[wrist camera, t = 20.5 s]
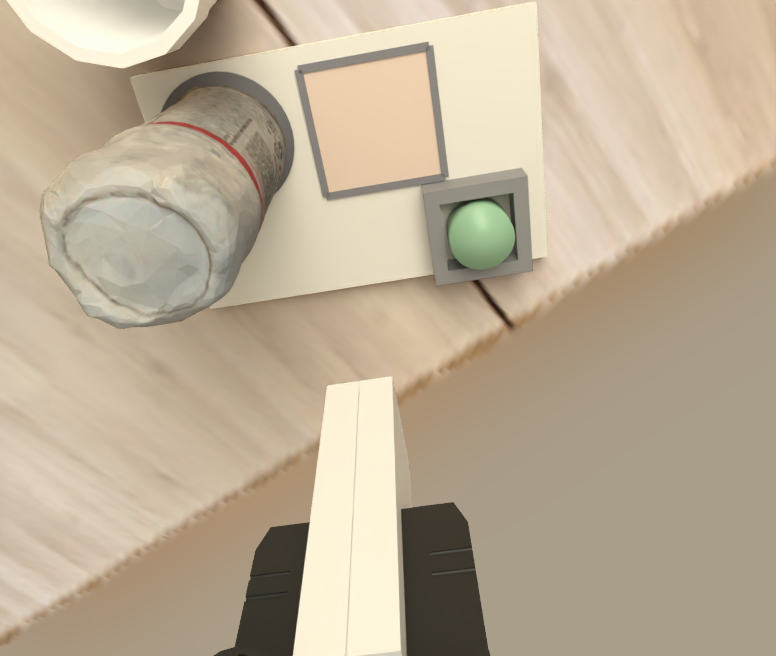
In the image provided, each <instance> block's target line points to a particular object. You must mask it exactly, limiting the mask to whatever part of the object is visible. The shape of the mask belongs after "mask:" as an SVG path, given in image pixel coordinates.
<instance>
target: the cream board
mask: <svg viewBox="0 0 776 656" xmlns="http://www.w3.org/2000/svg"><path fill="white" fill-rule="evenodd" d="M215 71H219V72H230V73H235V74H239V75H242V76H245V77H247V78H249V79H251V80H253V81H255V82H256V83H258V84H260V85H261V86H262V87H264V88H265V89H266V90H267V91H269V92H270V93H271V94H272V95H273V96H274V97H275V98H276V100H277V101H278V102H279V104H280V105H281V106H282V108H283V110H284V111H285V113H286V115H287V117H288V120H289V122H290V125H291V128H292V131H293V137H294V149H295V150H294V159H293V164H292V167H291V170H290V173H289V175H288V177H287V179H286V181H285V182H284V184H283V185H282V187H281V188H280V189H279V190H278V191H277V192H276V193H275V194H274V195H273V198H272V200H271V203H270V205H269V207H268V210H267V212H266V215H265V217H264V221H263V223H262V226H261V229H260V231H259V233H258V236H257V238H256V241H255V244H254V246H253V248H252V250H251V252H250V253H249V255H248V256H247V258H246V259H245V260H244V262H243V263H242V265H241V268H240V271H239V273H238V276H237V278H236V280H235V282H234V284H233V286H232V288H231V289H230V291H229V292H228V293H227V294H226V295H225V296H224V297H223V298H221V299H220V300H219V301H217V302H215V303H214V304H212V305H211V306H209V308H210V309H215V308H222V307H228V306H235V305H241V304H247V303H254V302H260V301H267V300H273V299H280V298H286V297H292V296H299V295H305V294H312V293H318V292H324V291H331V290H337V289H344V288H350V287H356V286H363V285H369V284H376V283H382V282H388V281H395V280H401V279H408V278H414V277H420V276H427V275H433V274H434V276H435V281H436V286H439V285H445V284H452V283H458V282H465V281H471V280H478V279H484V278H491V277H497V276H503V275H510V274H516V273H523V272H529V271H533V262H532V259H536V258H542V257H547V235H546V211H545V188H544V164H543V141H542V118H541V94H540V71H539V47H538V24H537V3H536V2H529V3H523V4H518V5H513V6H507V7H502V8H496V9H491V10H486V11H480V12H475V13H470V14H464V15H459V16H453V17H448V18H443V19H437V20H432V21H426V22H421V23H416V24H410V25H405V26H399V27H394V28H389V29H383V30H378V31H372V32H367V33H362V34H356V35H351V36H345V37H340V38H335V39H329V40H324V41H318V42H313V43H308V44H302V45H297V46H292V47H286V48H281V49H275V50H270V51H265V52H259V53H254V54H248V55H243V56H238V57H232V58H227V59H221V60H216V61H211V62H205V63H200V64H194V65H189V66H184V67H178V68H173V69H167V70H162V71H157V72H151V73H146V74H140V75H135V76H133V77H131V78H129V79H130V82H131V85H132V87H133V90H134V93H135V96H136V99H137V102H138V105H139V107H140V110H141V113H142V116H143V119H144V122H147V121H149V120H150V119H152V118H153V117H155V116H156V115H157V114H159V113H161V110H162V108H163V105H164V103H165V102H166V100H167V98H168V97H169V95H170V94H171V93H172V92H173V91H174V89H176V88H177V87H178V86H179V85H180V84H181V83H183V82H185V81H186V80H188V79H190V78H192V77H194V76H196V75H199V74H203V73H207V72H215ZM485 197H488V198H491V199H493V200H495V201H496V202H498V203H499V204H500V205H501V206H502V207H503V209H504V210H505V212H506V214H507V216H508V217H509V219H510V221H511V223H512V225H513V228H514V231H515V242H514V246H513V249H512V251H511V253H510V254H509V256H508V257H507V258H506V259H505V260H504V261H503V262H501V263H500V264H498V265H497V266H495V267H492V268H489V269H484V270H476V269H471V268H468V267H466V266H464V265H462V264H461V263H460V262H459V261H458V260H457V259H456V258H455V257H454V255H453V253H452V250H451V247H450V243H449V239H448V236H447V229H446V227H447V220H448V217H449V215H450V213H451V212H452V210H453V209H454V208H455V207H456V206H457V205H458V204H459V203H461V202H462V201H466V200H472V199H479V198H485Z"/></svg>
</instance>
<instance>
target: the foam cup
mask: <svg viewBox="0 0 776 656" xmlns="http://www.w3.org/2000/svg"><path fill="white" fill-rule="evenodd" d="M7 1H8V3H9V4H10V5H11V7H12V8H13V9H14V11H15V12H16V13H17V14H18V16H19V17H20V18H21V20H22V21H23V22H24V24H25V25H26V26H27V27H28V29H29V30H30V31H31V32H32V33H34V34H35V35H37V36H39V37H40V38H42V39H43V40H45V41H46V42H48V43H49V44H51V45H53V46H54V47H56V48H57V49H59V50H60V51H62V52H63V53H65V54H67V55H68V56H70V57H71V58H73V59H74V60H76V61H82V62H88V63H94V64H100V65H106V66H112V67H117V68H126V67H129V66H132V65H135V64H138V63H141V62H144V61H147V60H150V59H153V58H156V57H159V56H162V55H165V54H167V53H170V52H173V51H176V50H178V49H180V48H181V47H182V46H183V44H184V43H185V42H186V41H187V40H188V39H189V37H190V36H191V35H192V34H193V33H194V32H195V31H196V29H197V28H198V27H199V26H200V25H201V24H202V22H203V21H204V20H205V19H206V18H207V17H208V13H209V10H210V8H211V7H212V6H213V5H214V4H215V3H216V1H217V0H7Z"/></svg>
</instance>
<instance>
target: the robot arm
mask: <svg viewBox="0 0 776 656" xmlns="http://www.w3.org/2000/svg"><path fill="white" fill-rule="evenodd" d="M250 577H251V579H250V581H249V583H248V588H247V593H246V602H244V607H243V611H242V616H241V620H240V625H239V630H238V634H237V639H236V644H235V647H233V648H230V649H227V650H224V651H220V652H219V653H217V654H216V655H214V656H490V653H489V650H488V645H487V638H486V632H485V626H484V620H483V614H482V608H481V602H480V595H479V589H478V582H477V577H476V570H475V564H474V558H473V551H472V545H471V539H470V533H469V527H468V522H467V520H466V519H465V518H464V516H463V515H462V514H461V512H460V511H459V509H458V508H457V507H456V505H455V504H454V503H453V502H452V503H444V504H437V505H428V506H420V507H413V508H412V497H411V480H410V466H409V460H408V455H407V450H406V445H405V440H404V435H403V429H402V424H401V420H400V414H399V409H398V404H397V399H396V394H395V388H394V383H393V378H392V376H390V377H383V378H376V379H370V380H363V381H356V382H349V383H342V384H335V385H328V386H327V391H326V399H325V407H324V415H323V423H322V431H321V438H320V446H319V454H318V463H317V471H316V478H315V486H314V494H313V502H312V509H311V517H310V522H309V523H301V524H293V525H286V526H278V527H271V528H270V529H269V531H268V532H267V534H266V536H265V537H264V538H263V540H262V541H261V543H260V544H259V546H258V547H257V549H256V551H255V555H254V560H253V565H252V569H251V574H250Z"/></svg>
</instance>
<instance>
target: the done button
mask: <svg viewBox="0 0 776 656" xmlns="http://www.w3.org/2000/svg"><path fill="white" fill-rule="evenodd" d="M446 229H447V236H448V239H449V243H450V247H451V250H452V253H453V255H454V257H455V258H456V259H457V260H458V261H459V262H460V263H461V264H462V265H464V266H466V267H468V268H471V269H476V270H484V269H489V268H492V267H495V266H497V265H498V264H500V263H501V262H503V261H504V260H505V259H506V258H507V257H508V256H509V254H510V253H511V251H512V249H513V246H514V242H515V231H514V228H513V225H512V223H511V221H510V219H509V217H508V216H507V214H506V212H505V210H504V209H503V207H502V206H501V205H500V204H499V203H498V202H496V201H495V200H493V199H491V198H488V197H485V198H479V199H472V200H466V201H462V202H461V203H459V204H458V205H457V206H456V207H455V208H454V209H453V210H452V212H451V213H450V215H449V217H448V220H447V227H446Z"/></svg>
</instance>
